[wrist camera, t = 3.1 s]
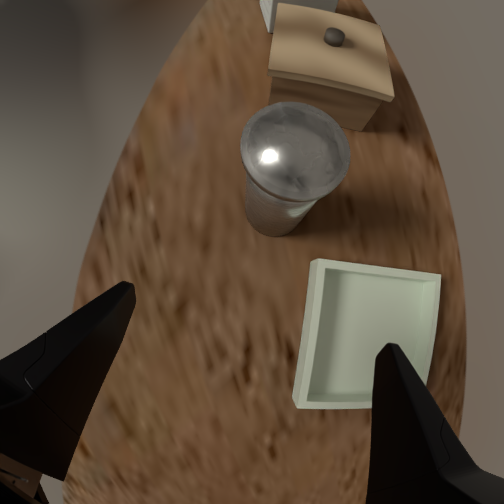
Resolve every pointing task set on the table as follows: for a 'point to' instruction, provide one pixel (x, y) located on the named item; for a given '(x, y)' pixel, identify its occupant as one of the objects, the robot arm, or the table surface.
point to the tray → (361, 329)
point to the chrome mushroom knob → (290, 164)
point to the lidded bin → (329, 64)
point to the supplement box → (269, 4)
